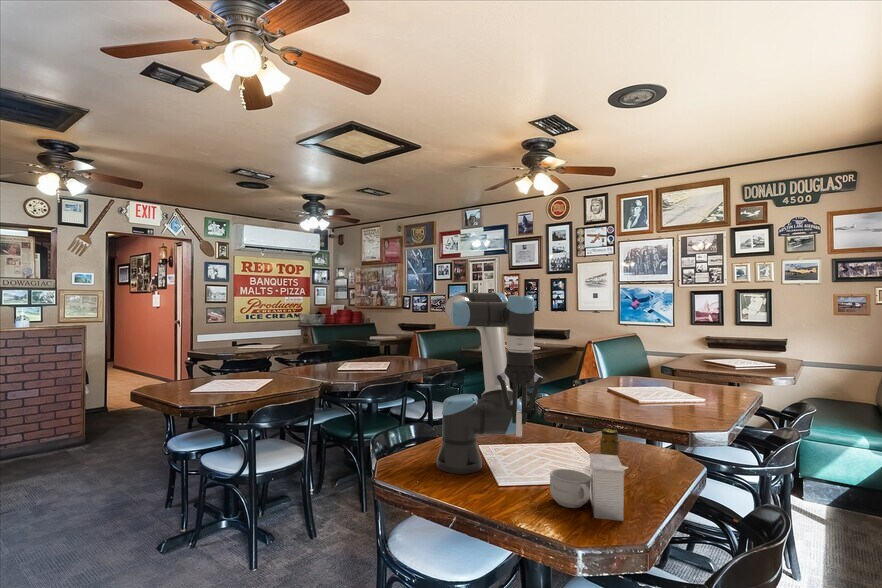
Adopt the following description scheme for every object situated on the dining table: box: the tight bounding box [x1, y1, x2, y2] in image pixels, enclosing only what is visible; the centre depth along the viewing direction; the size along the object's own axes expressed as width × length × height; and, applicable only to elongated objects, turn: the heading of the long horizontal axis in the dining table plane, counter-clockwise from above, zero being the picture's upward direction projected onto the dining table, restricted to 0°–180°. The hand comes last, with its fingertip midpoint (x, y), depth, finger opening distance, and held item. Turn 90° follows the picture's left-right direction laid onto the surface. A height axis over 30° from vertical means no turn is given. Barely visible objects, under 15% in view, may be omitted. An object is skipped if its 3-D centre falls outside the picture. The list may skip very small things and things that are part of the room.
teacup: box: [549, 468, 591, 509], centre depth 125 cm, size 14×11×8 cm
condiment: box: [599, 428, 629, 471], centre depth 156 cm, size 7×8×12 cm
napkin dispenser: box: [589, 452, 626, 522], centre depth 123 cm, size 8×12×13 cm, turn 167°
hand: (519, 435), depth 129 cm, fingers closed
